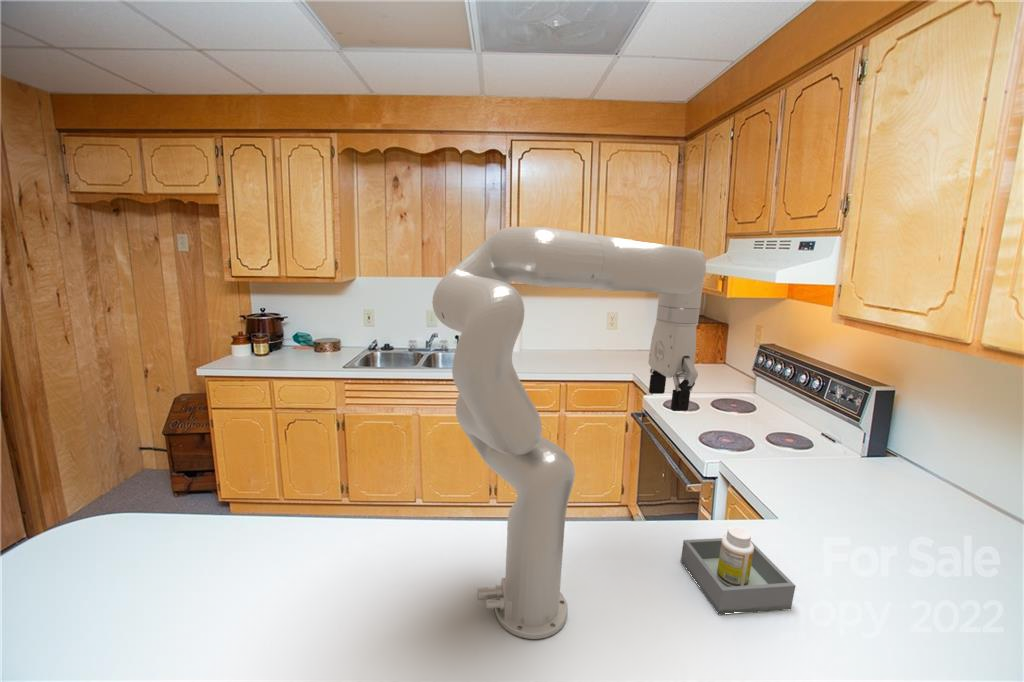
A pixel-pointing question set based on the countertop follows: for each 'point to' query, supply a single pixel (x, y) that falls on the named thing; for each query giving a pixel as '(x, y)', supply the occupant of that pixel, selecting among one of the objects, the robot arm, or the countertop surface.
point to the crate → (759, 595)
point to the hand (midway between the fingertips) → (667, 401)
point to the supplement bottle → (735, 557)
